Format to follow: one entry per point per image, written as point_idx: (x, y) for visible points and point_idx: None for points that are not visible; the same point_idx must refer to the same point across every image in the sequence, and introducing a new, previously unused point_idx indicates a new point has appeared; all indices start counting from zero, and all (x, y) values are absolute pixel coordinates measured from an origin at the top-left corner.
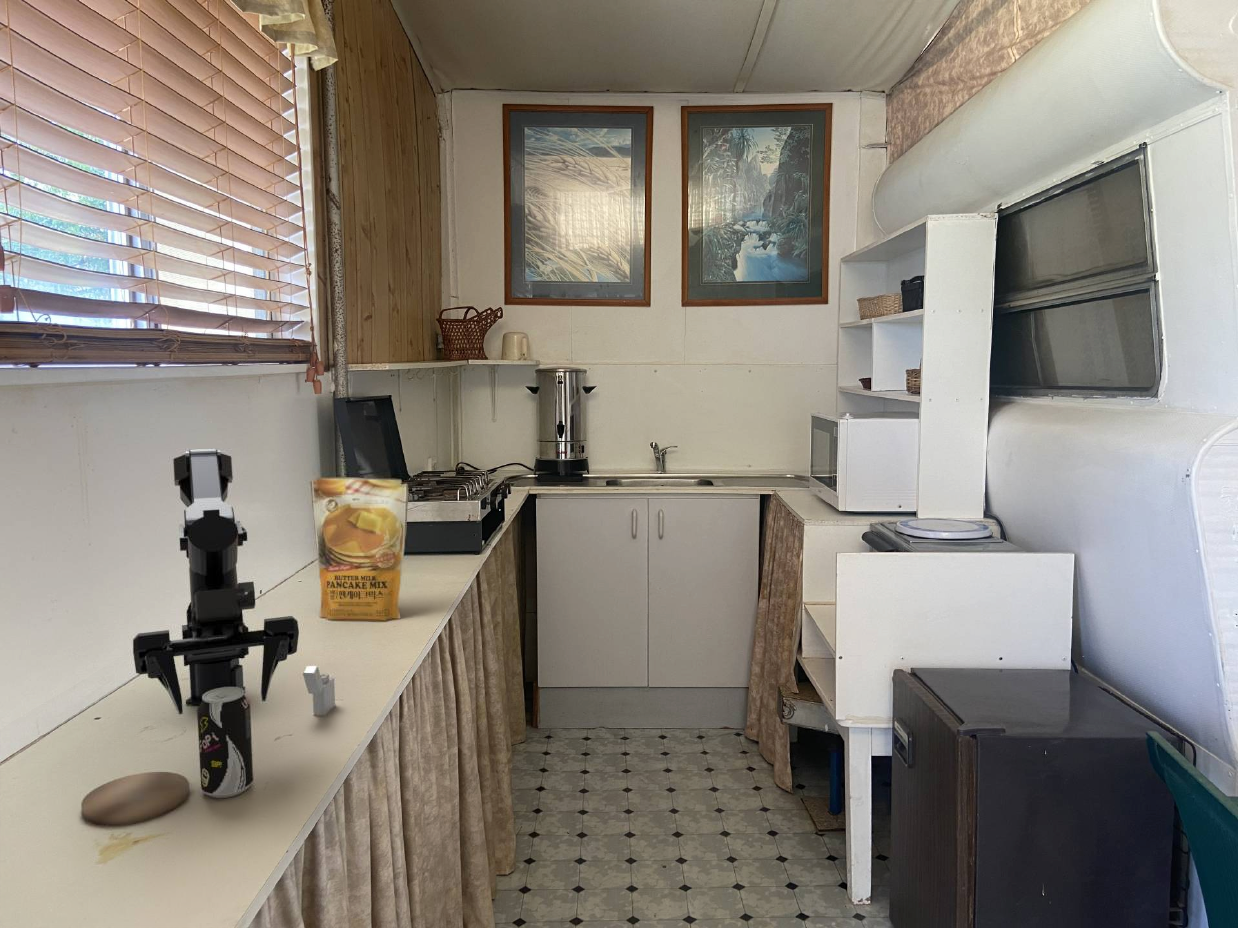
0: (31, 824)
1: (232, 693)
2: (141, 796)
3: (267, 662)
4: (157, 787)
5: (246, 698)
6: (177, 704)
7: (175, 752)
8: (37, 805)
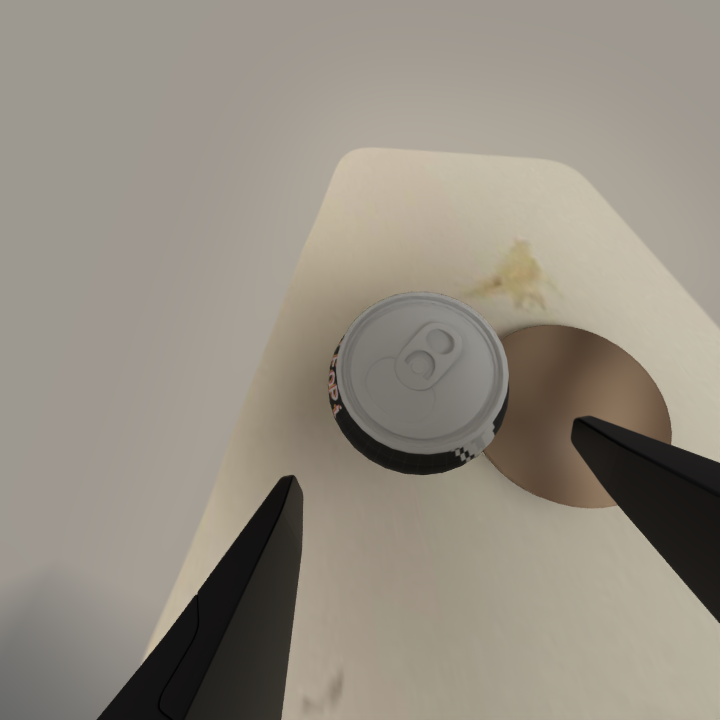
0: (713, 364)
1: (385, 389)
2: (548, 391)
3: (181, 660)
4: (533, 423)
5: (335, 389)
6: (613, 425)
7: (582, 679)
8: None
